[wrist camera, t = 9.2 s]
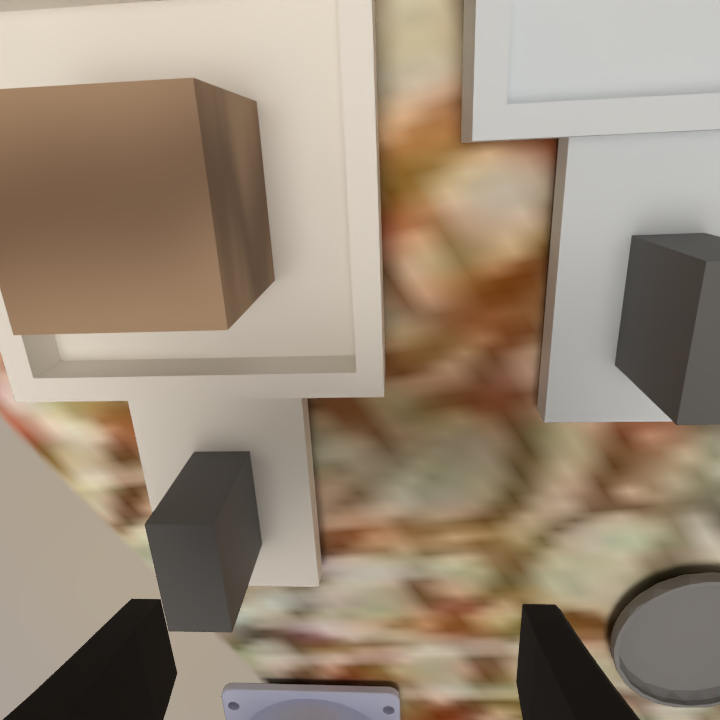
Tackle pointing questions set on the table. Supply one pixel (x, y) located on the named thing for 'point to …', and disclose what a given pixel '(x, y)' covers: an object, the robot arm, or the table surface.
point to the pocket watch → (672, 642)
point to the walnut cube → (131, 207)
